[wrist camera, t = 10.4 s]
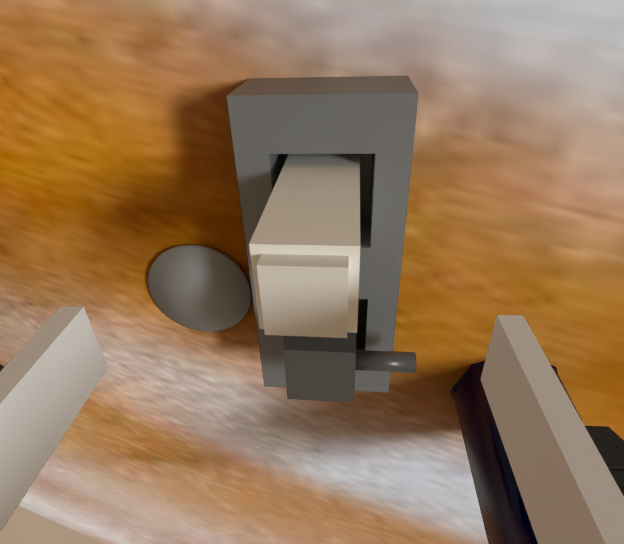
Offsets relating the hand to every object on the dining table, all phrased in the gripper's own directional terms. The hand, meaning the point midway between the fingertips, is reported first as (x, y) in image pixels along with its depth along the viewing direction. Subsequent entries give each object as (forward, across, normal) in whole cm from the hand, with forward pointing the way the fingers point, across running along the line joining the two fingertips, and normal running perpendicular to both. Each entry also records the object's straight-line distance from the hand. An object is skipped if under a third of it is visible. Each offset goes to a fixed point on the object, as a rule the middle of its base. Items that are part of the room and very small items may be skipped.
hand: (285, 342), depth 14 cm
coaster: (+16, -9, -9) cm, 21 cm away
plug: (+15, +1, 0) cm, 15 cm away
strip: (+16, +1, -4) cm, 16 cm away
